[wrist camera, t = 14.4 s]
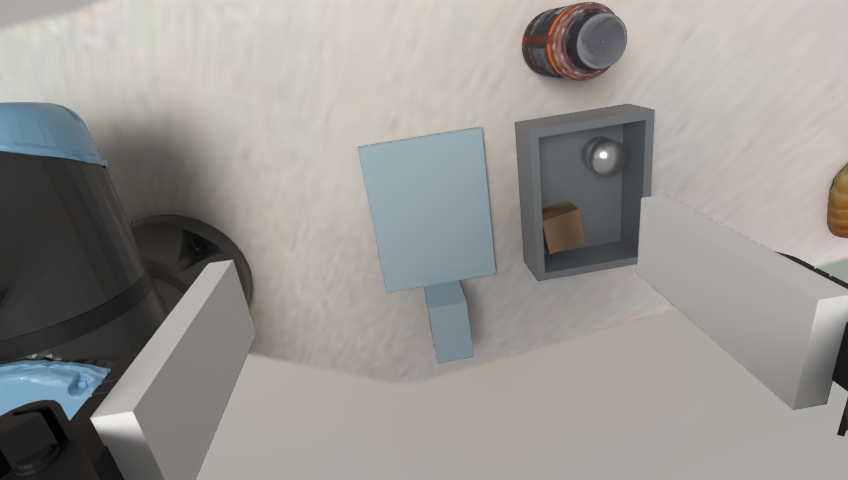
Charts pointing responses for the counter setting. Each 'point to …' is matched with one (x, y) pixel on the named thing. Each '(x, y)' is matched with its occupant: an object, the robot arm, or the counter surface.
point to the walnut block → (561, 227)
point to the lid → (432, 224)
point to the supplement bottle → (574, 41)
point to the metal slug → (604, 156)
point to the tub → (584, 187)
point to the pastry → (839, 205)
